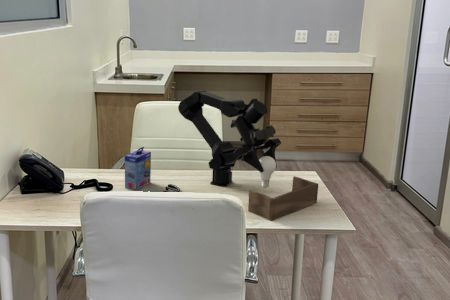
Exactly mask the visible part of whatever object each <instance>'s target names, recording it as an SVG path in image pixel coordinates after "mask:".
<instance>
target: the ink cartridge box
mask: <svg viewBox="0 0 450 300" xmlns="http://www.w3.org/2000/svg"><path fill="white" fill-rule="evenodd" d="M144 148H145V146H141V147H140V148H138V149H137V150H135V151H133V152H130V153H128V154H126V155H124V188H127V189H131V190H134V191H137V190H139V189H141V188H143V187H145V186H147V185H148V184H150V183H151V170H152V169H151V168H152V165H151V163H152V159H151V158H152V152H151V151H149V150H144Z"/></svg>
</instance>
